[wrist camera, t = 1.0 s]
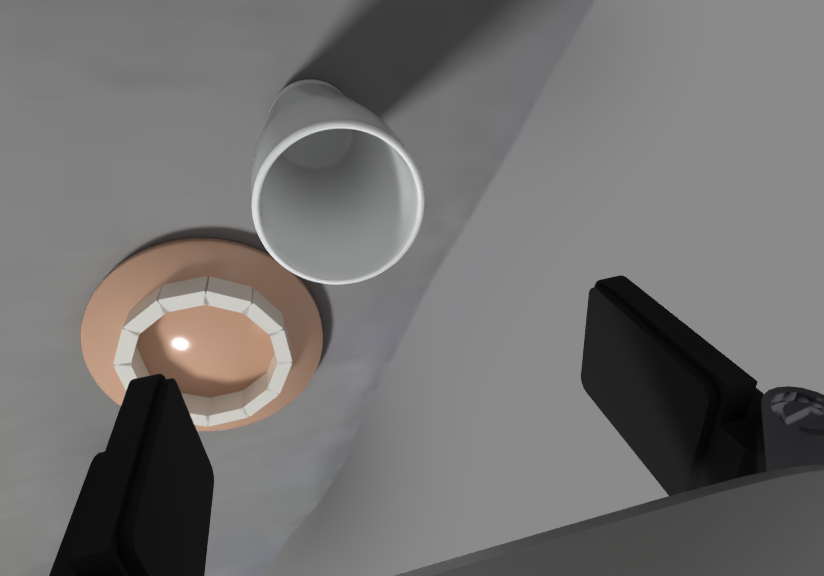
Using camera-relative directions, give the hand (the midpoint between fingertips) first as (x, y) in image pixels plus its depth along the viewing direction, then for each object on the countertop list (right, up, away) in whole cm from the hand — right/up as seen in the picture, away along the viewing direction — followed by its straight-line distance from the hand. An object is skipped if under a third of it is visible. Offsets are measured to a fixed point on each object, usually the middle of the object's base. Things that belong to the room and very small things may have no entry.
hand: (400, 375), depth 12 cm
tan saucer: (-14, -2, +26) cm, 30 cm away
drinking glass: (-6, +12, +21) cm, 25 cm away
